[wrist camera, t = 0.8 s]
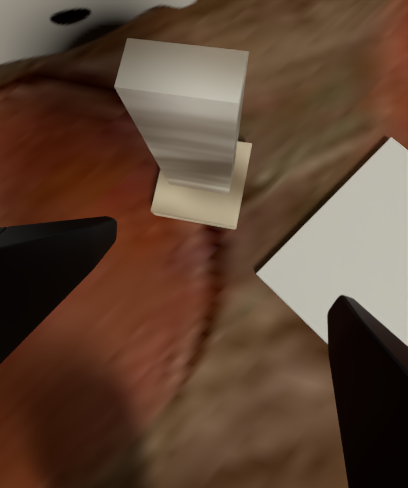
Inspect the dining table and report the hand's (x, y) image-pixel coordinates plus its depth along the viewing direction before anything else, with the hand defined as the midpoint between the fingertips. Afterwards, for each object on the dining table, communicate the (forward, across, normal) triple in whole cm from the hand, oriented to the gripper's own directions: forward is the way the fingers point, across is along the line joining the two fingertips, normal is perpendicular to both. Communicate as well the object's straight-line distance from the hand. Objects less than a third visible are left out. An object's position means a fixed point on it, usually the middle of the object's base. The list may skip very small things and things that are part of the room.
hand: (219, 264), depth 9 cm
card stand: (+15, +4, +2) cm, 16 cm away
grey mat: (+13, -15, +4) cm, 21 cm away
